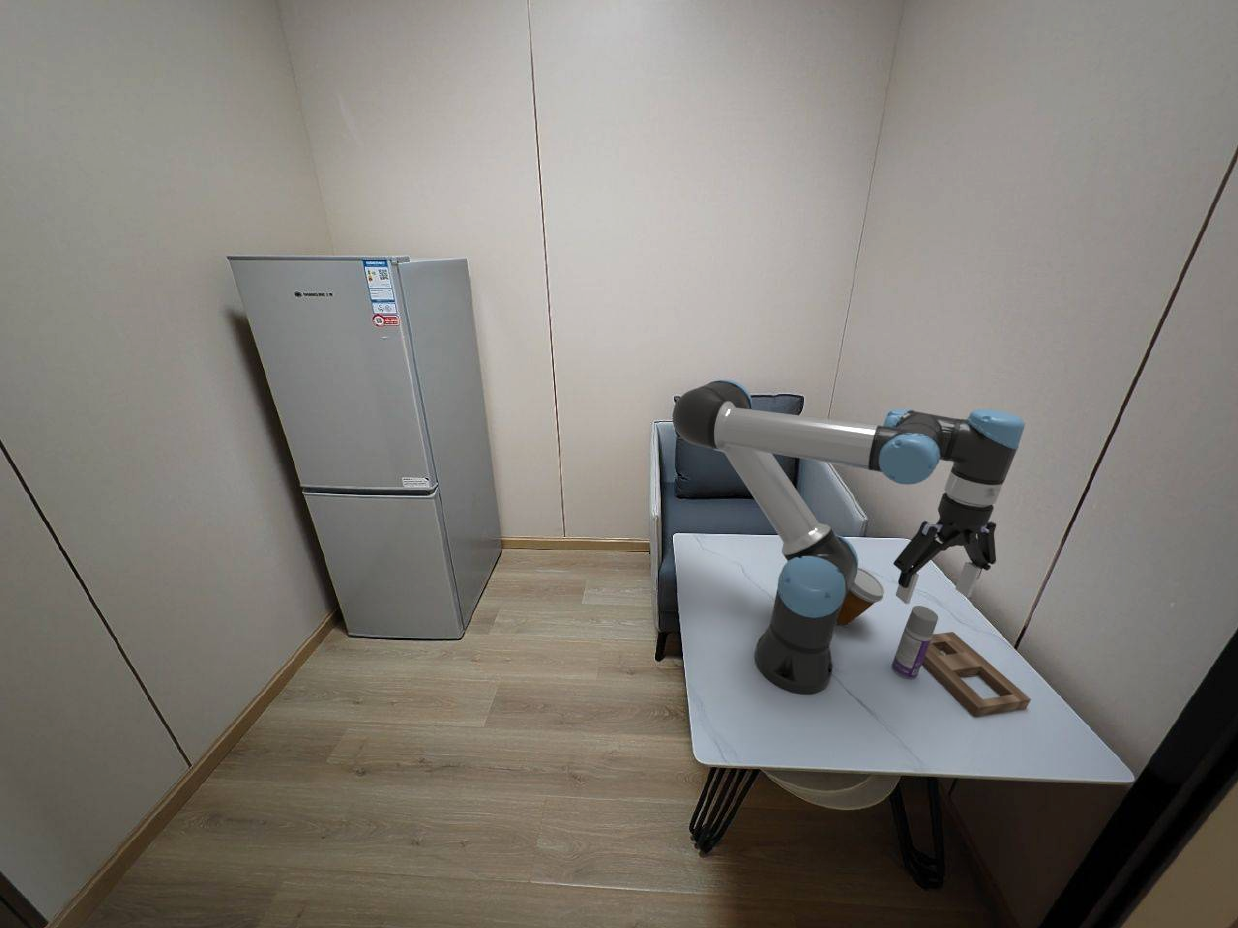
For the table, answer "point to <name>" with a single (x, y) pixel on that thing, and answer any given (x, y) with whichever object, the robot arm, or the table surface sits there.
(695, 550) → the table surface
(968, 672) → the socket board
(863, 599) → the disposable coffee cup
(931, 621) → the container
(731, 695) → the table surface
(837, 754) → the table surface
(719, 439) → the robot arm
